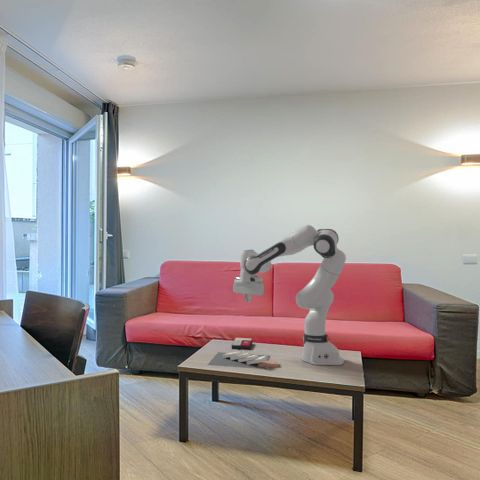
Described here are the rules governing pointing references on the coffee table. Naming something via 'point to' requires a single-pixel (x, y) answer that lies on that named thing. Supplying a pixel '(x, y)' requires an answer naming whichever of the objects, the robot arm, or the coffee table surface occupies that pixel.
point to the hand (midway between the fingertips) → (248, 302)
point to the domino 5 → (268, 364)
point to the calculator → (242, 343)
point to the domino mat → (234, 361)
